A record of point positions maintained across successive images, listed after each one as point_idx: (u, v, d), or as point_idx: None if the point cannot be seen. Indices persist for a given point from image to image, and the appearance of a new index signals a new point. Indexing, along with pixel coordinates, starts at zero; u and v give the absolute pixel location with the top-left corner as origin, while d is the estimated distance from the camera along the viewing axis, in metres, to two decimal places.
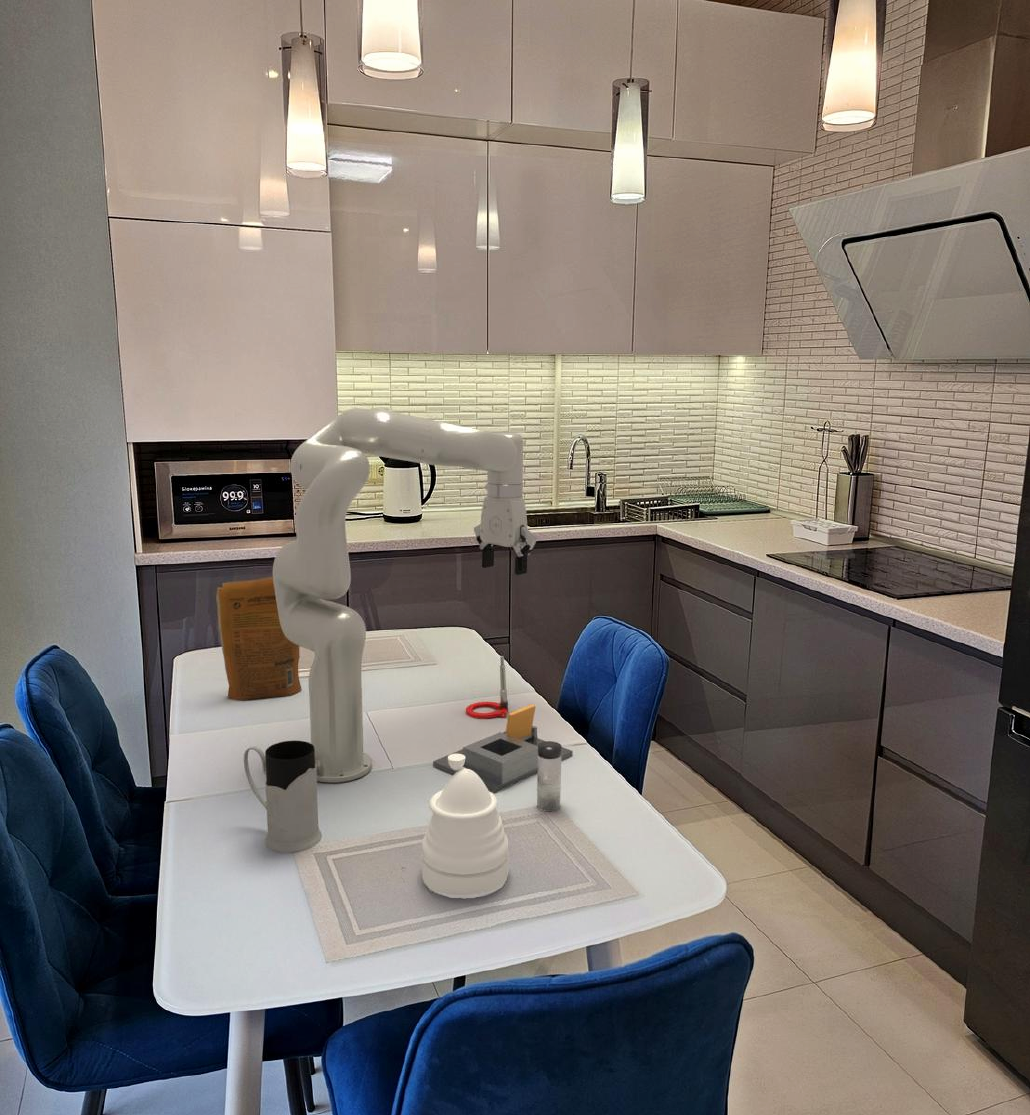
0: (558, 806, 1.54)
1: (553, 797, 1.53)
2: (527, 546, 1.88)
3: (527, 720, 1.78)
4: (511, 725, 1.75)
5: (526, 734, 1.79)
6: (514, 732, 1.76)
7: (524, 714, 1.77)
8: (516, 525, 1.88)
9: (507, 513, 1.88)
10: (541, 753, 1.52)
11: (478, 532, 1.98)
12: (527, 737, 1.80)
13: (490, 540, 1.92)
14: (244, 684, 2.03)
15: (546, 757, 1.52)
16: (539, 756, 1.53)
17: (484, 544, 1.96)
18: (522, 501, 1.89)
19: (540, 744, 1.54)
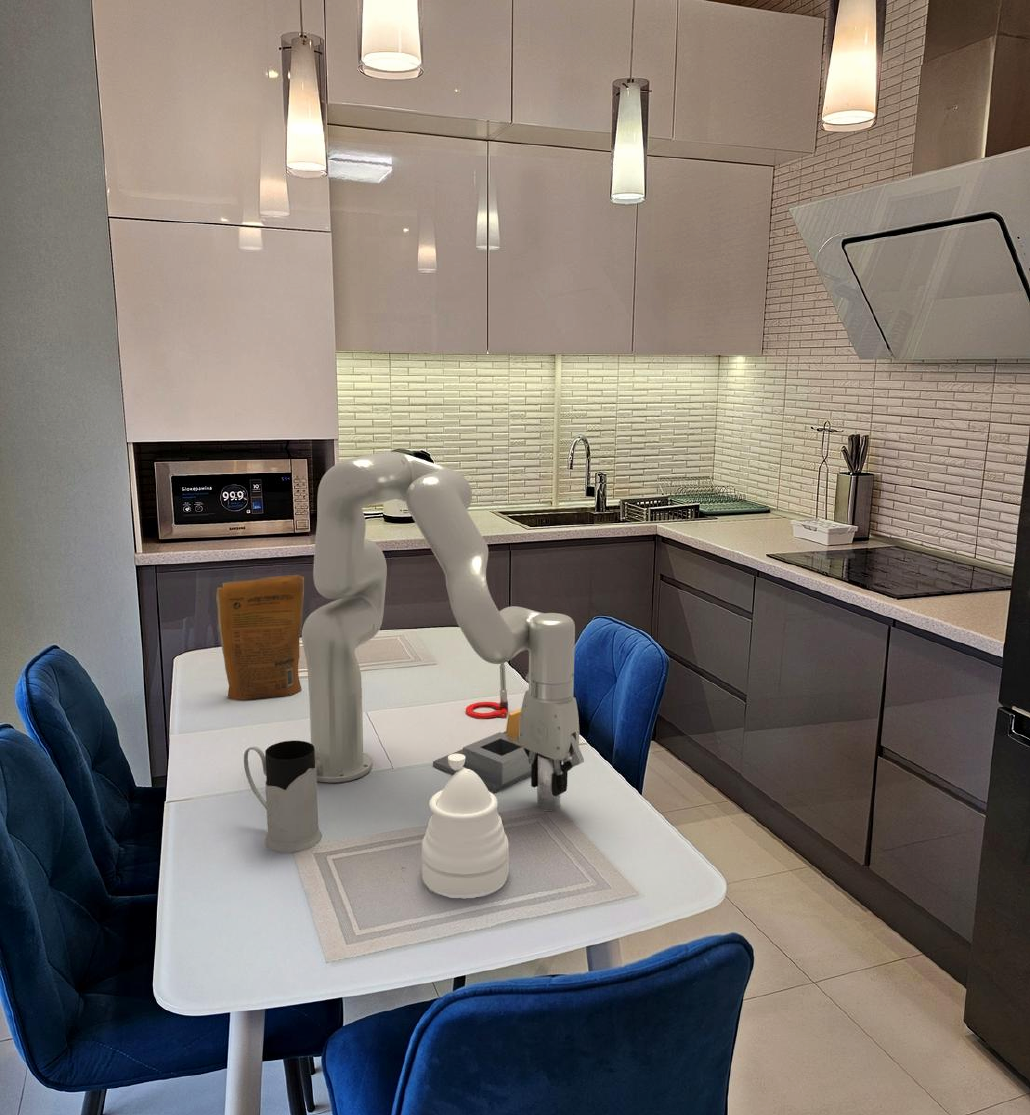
0: (558, 806, 1.54)
1: (553, 797, 1.53)
2: (568, 763, 1.50)
3: None
4: (511, 725, 1.75)
5: None
6: (514, 732, 1.76)
7: None
8: (566, 735, 1.48)
9: (555, 720, 1.48)
10: None
11: None
12: None
13: (532, 748, 1.52)
14: (244, 684, 2.03)
15: (546, 757, 1.52)
16: (539, 756, 1.53)
17: (533, 756, 1.54)
18: (573, 702, 1.49)
19: None
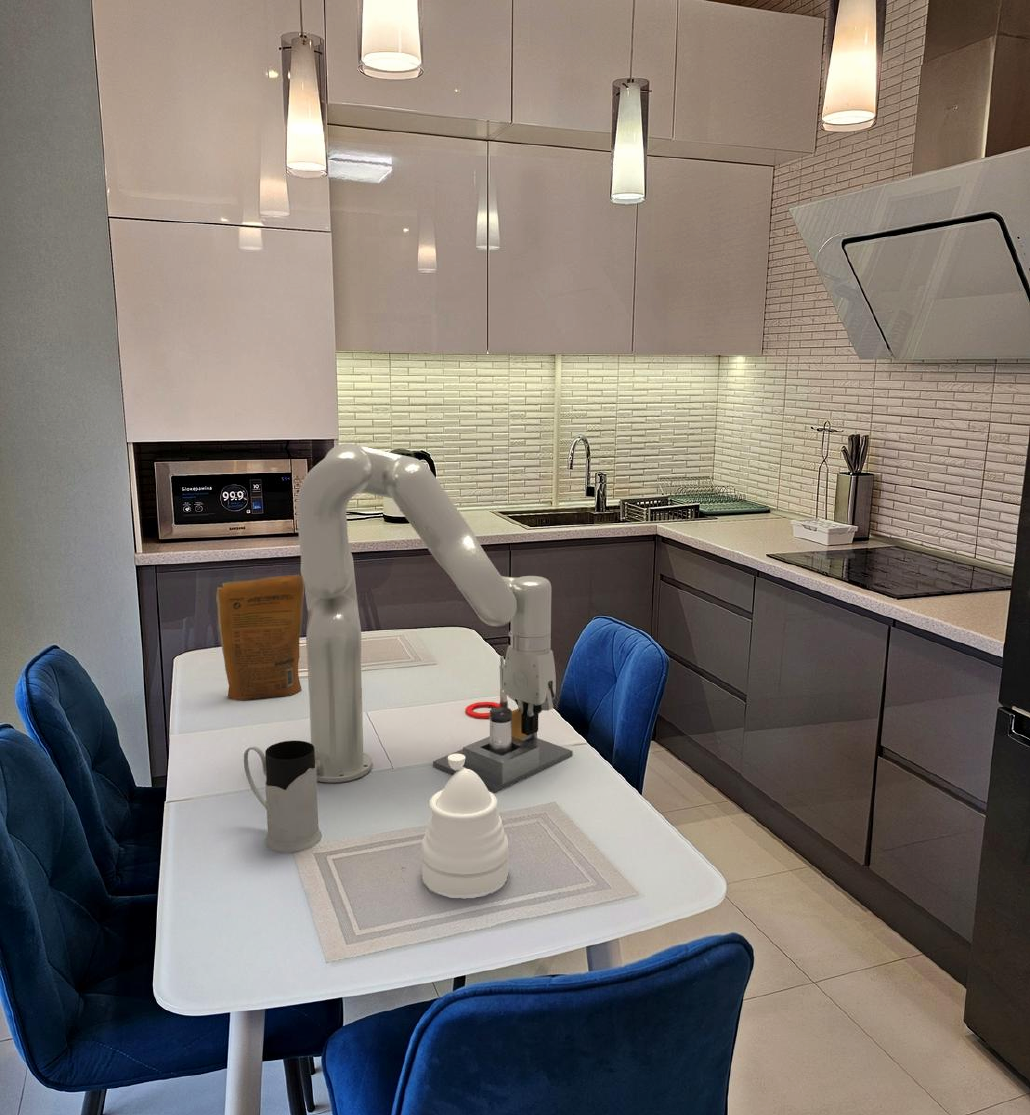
0: None
1: None
2: (538, 706, 1.71)
3: None
4: None
5: None
6: (513, 732, 1.76)
7: None
8: (543, 682, 1.68)
9: (534, 669, 1.68)
10: (492, 718, 1.65)
11: None
12: (527, 737, 1.80)
13: (514, 695, 1.72)
14: (244, 684, 2.03)
15: (497, 721, 1.64)
16: (491, 720, 1.65)
17: (521, 705, 1.74)
18: (550, 654, 1.69)
19: (492, 709, 1.66)
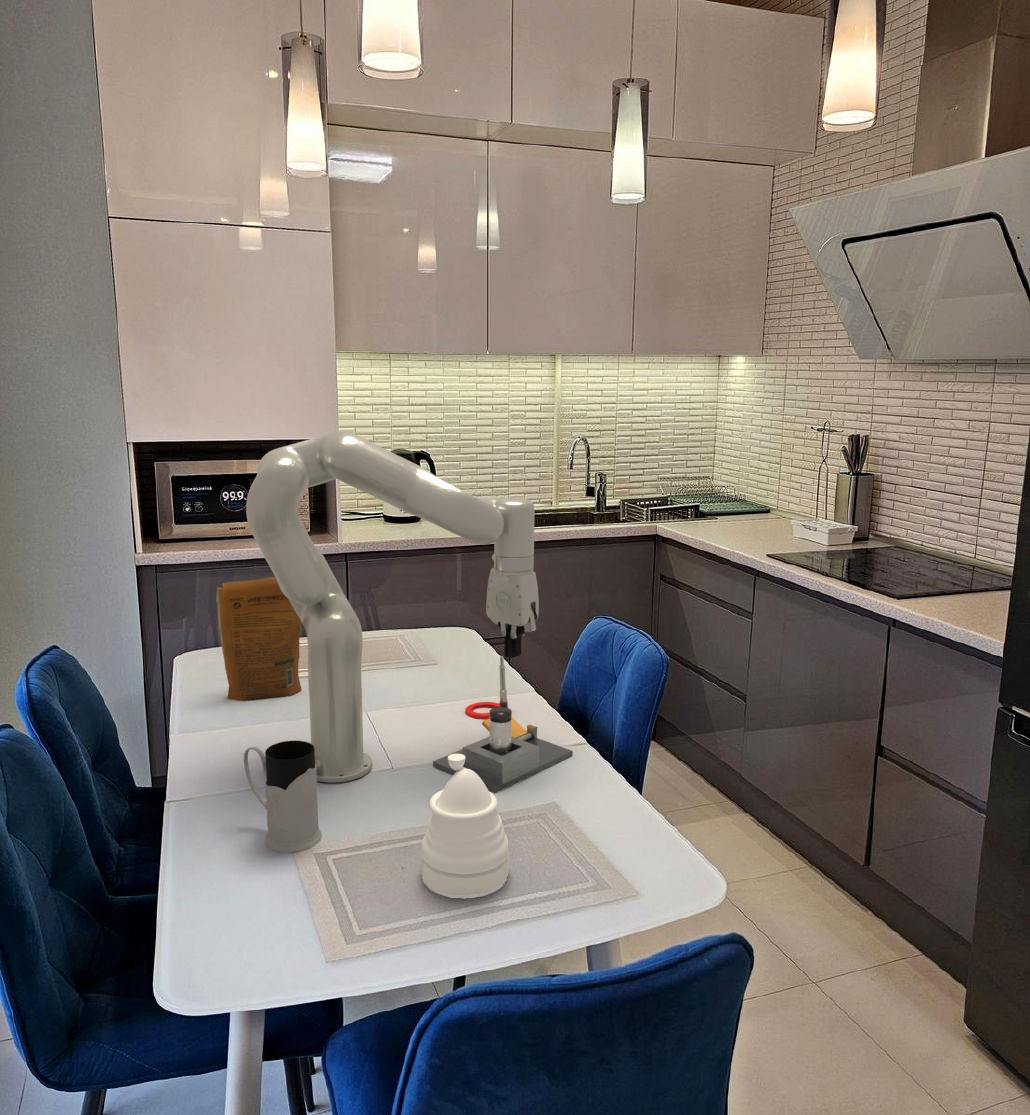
0: None
1: None
2: (521, 627, 1.71)
3: None
4: None
5: (521, 733, 1.80)
6: None
7: None
8: (526, 602, 1.68)
9: (516, 589, 1.68)
10: (492, 718, 1.65)
11: None
12: (525, 735, 1.80)
13: (497, 617, 1.73)
14: (244, 684, 2.03)
15: (497, 721, 1.64)
16: (491, 720, 1.65)
17: (504, 628, 1.74)
18: (533, 575, 1.70)
19: (492, 709, 1.66)
